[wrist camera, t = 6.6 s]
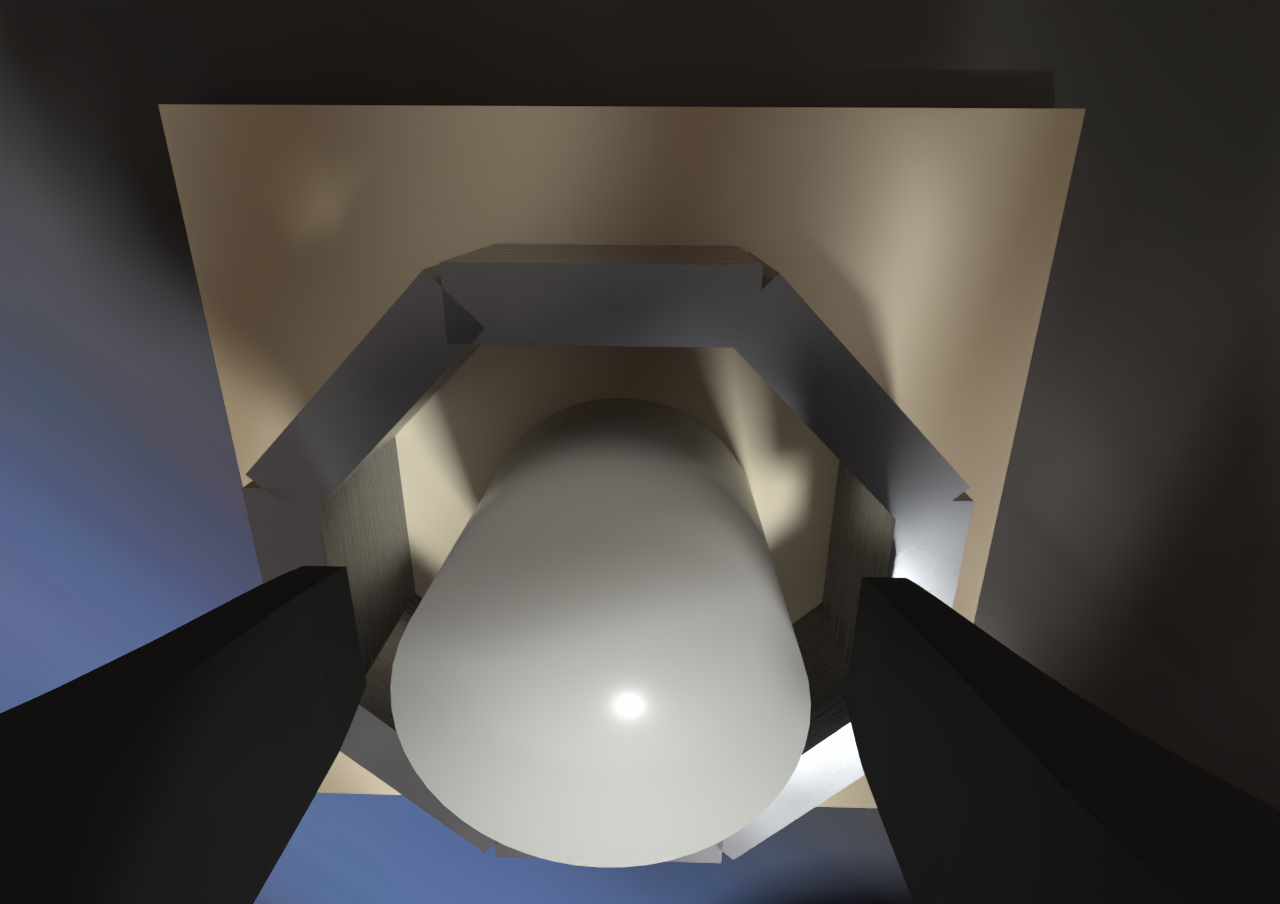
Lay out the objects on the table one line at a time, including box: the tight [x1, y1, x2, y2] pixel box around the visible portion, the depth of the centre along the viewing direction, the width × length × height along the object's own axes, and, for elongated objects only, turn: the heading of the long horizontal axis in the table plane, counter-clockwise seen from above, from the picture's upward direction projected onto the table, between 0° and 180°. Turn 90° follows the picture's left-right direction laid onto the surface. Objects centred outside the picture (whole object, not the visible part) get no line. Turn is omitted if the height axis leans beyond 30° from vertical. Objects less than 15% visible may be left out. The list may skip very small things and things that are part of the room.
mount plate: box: [158, 104, 1086, 808], centre depth 13 cm, size 14×14×1 cm
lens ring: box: [242, 244, 974, 863], centre depth 11 cm, size 10×10×3 cm
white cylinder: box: [390, 398, 811, 867], centre depth 10 cm, size 5×5×5 cm
